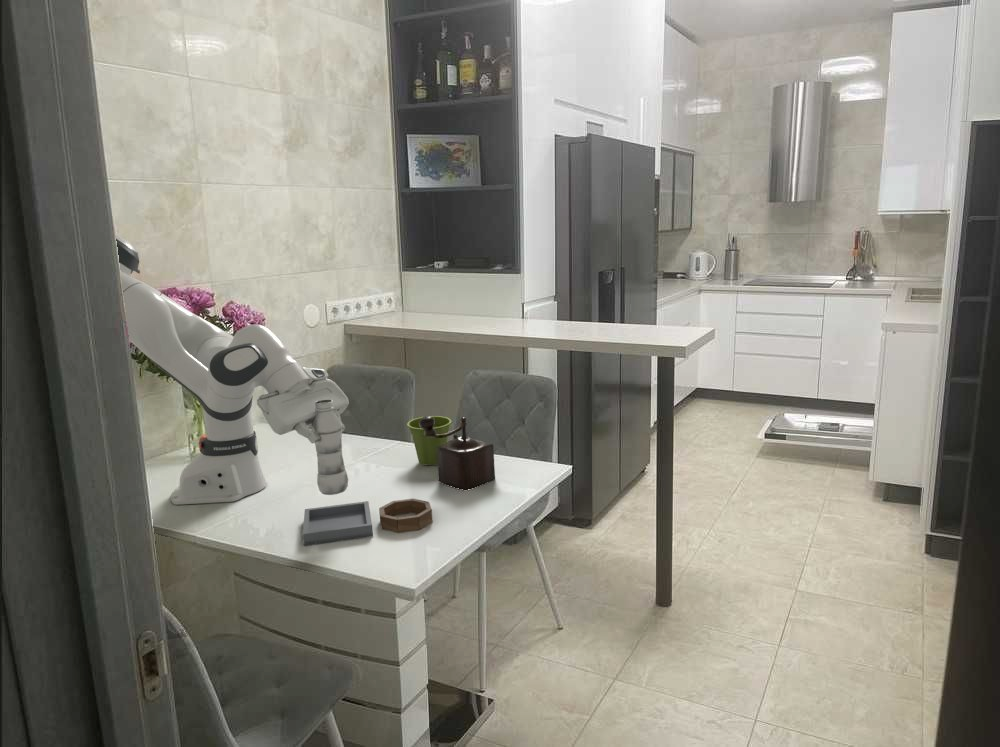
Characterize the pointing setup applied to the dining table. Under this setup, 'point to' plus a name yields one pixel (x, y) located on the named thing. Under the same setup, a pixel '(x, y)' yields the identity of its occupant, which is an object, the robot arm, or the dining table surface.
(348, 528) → the charcoal tray
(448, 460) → the manual coffee grinder
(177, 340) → the robot arm
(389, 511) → the walnut collar
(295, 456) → the dining table surface
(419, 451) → the plant pot
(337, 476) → the plastic bottle
